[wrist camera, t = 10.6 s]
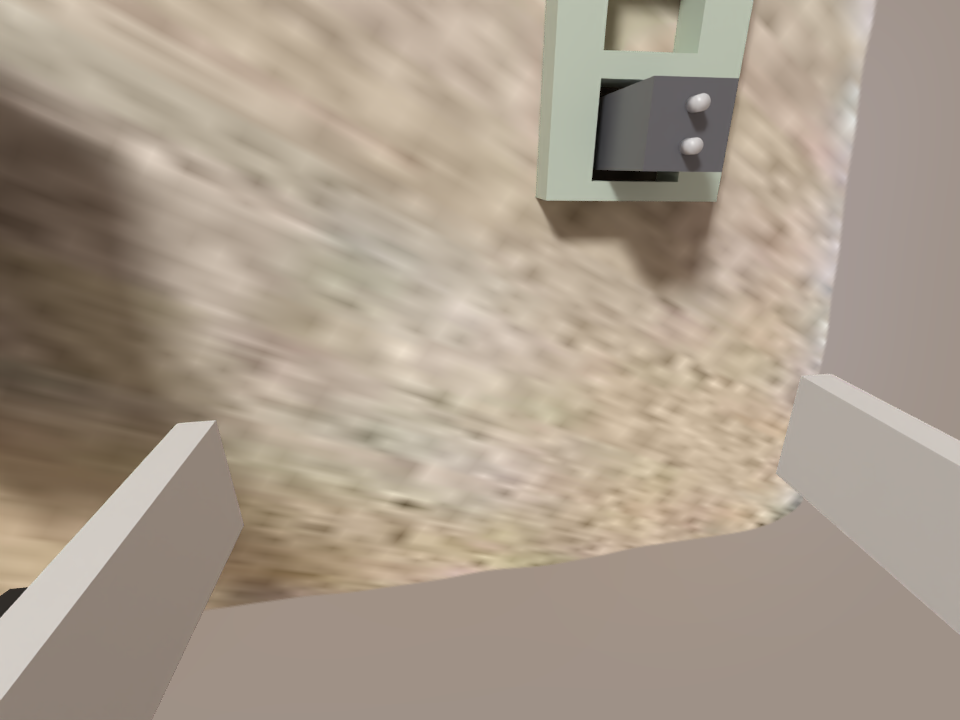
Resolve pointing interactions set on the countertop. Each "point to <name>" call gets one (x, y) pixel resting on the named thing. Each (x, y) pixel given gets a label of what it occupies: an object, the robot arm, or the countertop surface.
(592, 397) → the countertop surface
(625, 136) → the charger
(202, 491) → the robot arm
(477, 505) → the countertop surface
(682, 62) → the outlet plate
